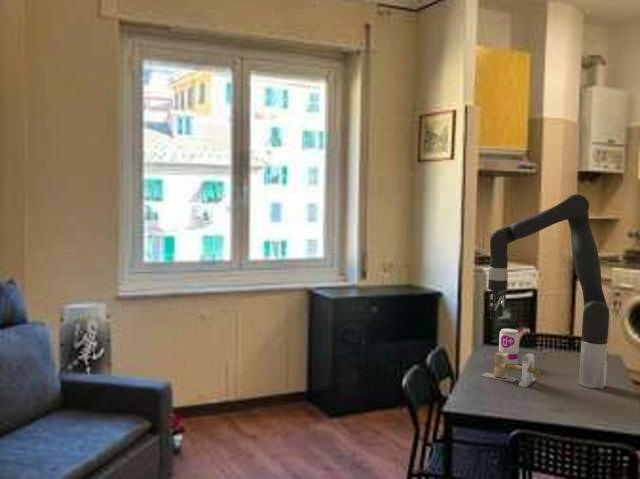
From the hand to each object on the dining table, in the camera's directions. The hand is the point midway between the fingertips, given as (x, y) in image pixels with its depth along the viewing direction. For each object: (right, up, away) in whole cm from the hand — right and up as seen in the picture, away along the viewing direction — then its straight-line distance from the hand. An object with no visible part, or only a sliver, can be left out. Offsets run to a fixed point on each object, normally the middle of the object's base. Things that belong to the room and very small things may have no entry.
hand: (496, 318), depth 262 cm
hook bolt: (+6, -23, -10) cm, 25 cm away
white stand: (+2, -23, -7) cm, 25 cm away
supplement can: (+10, -22, +17) cm, 29 cm away
